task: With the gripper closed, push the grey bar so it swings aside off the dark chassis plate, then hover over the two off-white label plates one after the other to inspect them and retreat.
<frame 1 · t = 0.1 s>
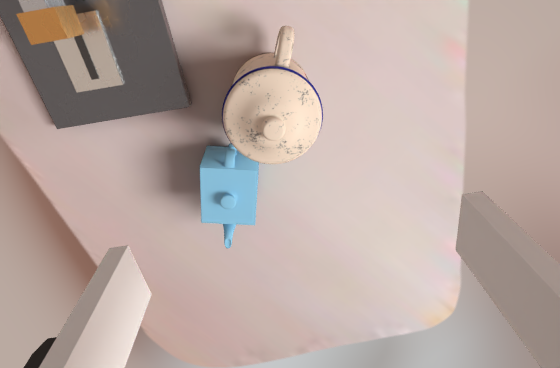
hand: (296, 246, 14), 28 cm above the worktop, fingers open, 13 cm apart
teacup with lid: (273, 79, 38), on the worktop
teapot: (233, 176, 44), on the worktop
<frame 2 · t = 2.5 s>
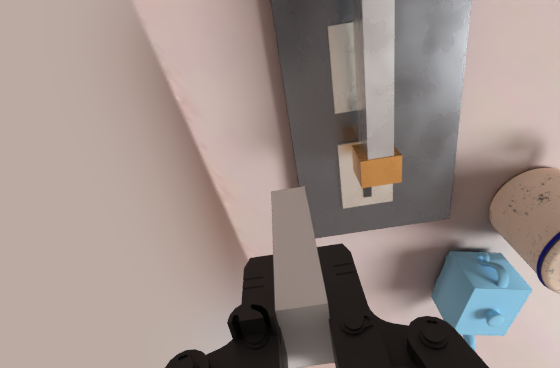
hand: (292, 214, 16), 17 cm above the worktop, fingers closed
teacup with lid: (534, 189, 37), on the worktop
grey bar: (371, 63, 25), point 4 cm above the worktop, hinge at 0.0°
teapot: (457, 274, 43), on the worktop
chassis plate: (370, 96, 31), on the worktop
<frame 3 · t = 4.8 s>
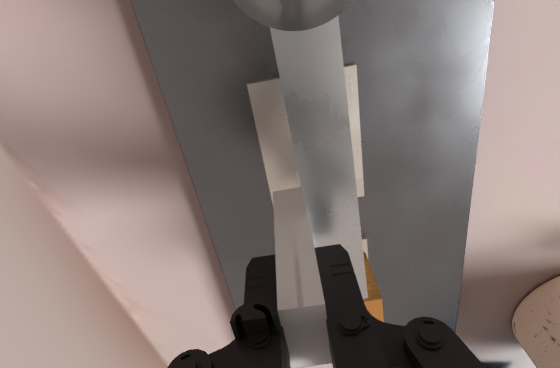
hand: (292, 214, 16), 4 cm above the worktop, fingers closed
grey bar: (320, 153, 14), point 4 cm above the worktop, hinge at 1.6°, touching gripper
chassis plate: (331, 179, 20), on the worktop
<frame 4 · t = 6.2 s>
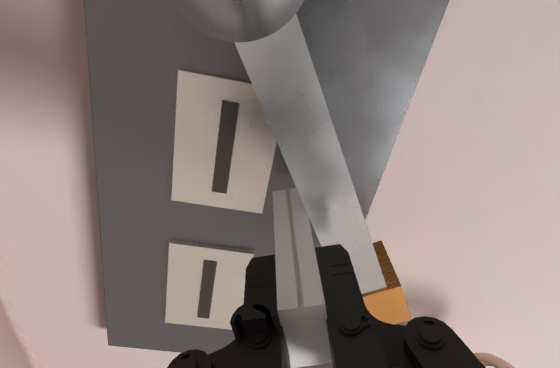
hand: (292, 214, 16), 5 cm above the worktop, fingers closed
teacup with lid: (422, 352, 29), on the worktop
grey bar: (313, 150, 15), point 5 cm above the worktop, hinge at 32.5°, touching gripper
chassis plate: (238, 188, 21), on the worktop
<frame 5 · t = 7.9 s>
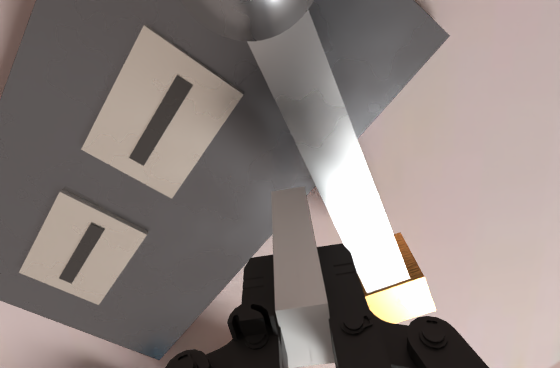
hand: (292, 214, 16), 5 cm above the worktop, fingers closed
grey bar: (329, 146, 14), point 4 cm above the worktop, hinge at 61.3°
chassis plate: (158, 165, 20), on the worktop
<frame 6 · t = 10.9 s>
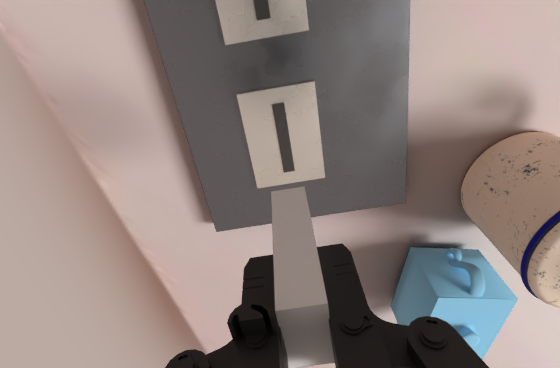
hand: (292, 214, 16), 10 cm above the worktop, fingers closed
teacup with lid: (521, 163, 27), on the worktop
teapot: (424, 277, 33), on the worktop
chassis plate: (281, 23, 22), on the worktop
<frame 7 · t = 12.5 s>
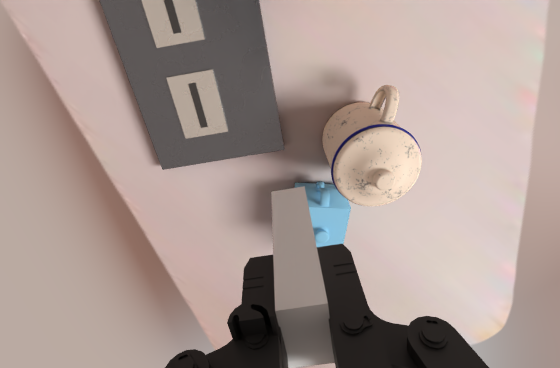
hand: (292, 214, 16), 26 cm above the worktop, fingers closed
teacup with lid: (360, 124, 42), on the worktop
teapot: (313, 208, 48), on the worktop
chassis plate: (191, 34, 36), on the worktop
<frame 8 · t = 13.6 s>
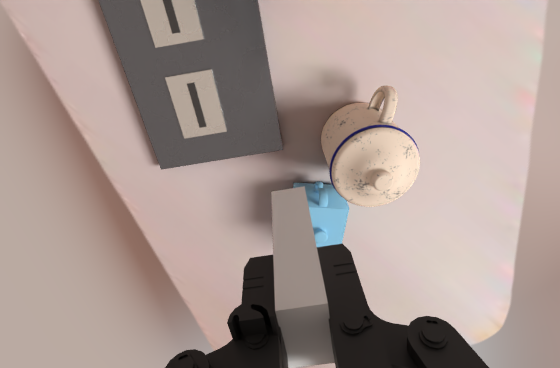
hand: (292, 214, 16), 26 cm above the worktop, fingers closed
teacup with lid: (358, 124, 42), on the worktop
teapot: (311, 208, 48), on the worktop
chassis plate: (190, 34, 36), on the worktop
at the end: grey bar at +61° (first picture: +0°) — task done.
